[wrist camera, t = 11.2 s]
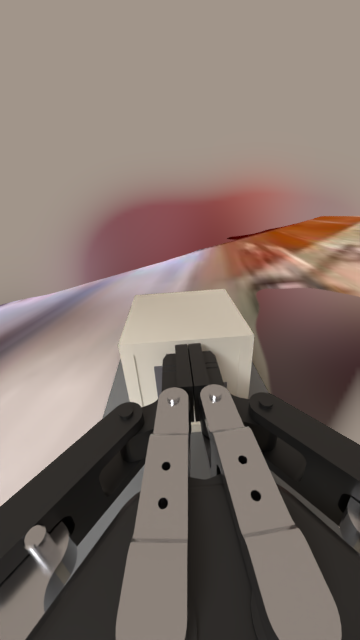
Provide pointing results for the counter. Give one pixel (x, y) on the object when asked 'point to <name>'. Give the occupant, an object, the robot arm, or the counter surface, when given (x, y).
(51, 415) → the counter surface
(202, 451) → the rubber mat
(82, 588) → the robot arm
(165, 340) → the off-white cube
